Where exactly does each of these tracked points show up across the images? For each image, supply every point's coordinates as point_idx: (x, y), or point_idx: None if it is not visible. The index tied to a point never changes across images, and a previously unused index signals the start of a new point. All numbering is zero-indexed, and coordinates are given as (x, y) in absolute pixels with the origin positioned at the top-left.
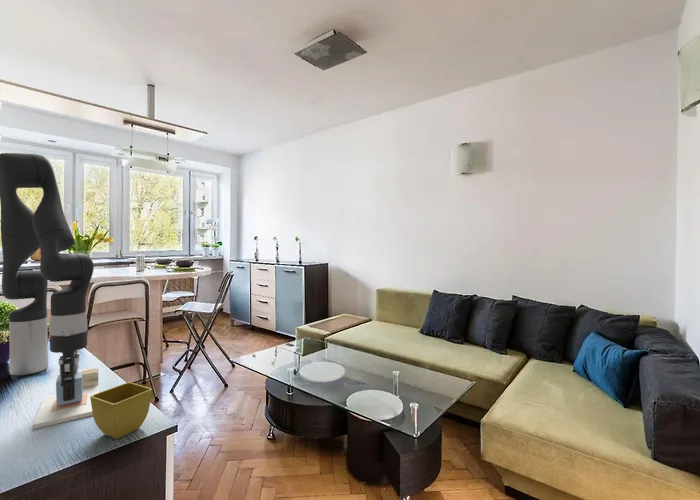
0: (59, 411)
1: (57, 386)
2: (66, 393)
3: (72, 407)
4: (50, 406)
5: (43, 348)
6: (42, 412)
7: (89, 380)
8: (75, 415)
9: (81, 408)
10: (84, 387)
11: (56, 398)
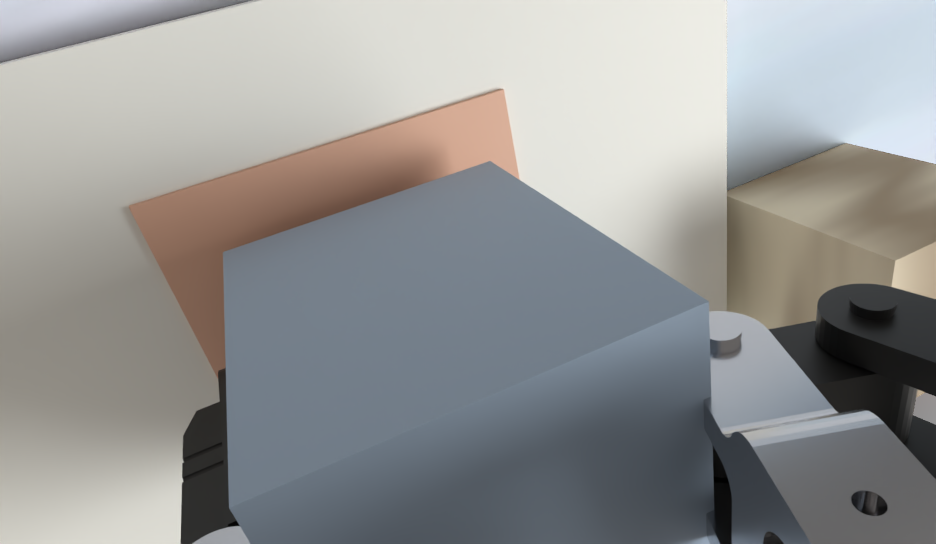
0: (121, 311)
1: (241, 443)
2: (195, 492)
3: (216, 399)
4: (332, 120)
5: None
6: (138, 98)
7: (800, 313)
8: None
9: (157, 505)
10: (747, 250)
11: (227, 299)
